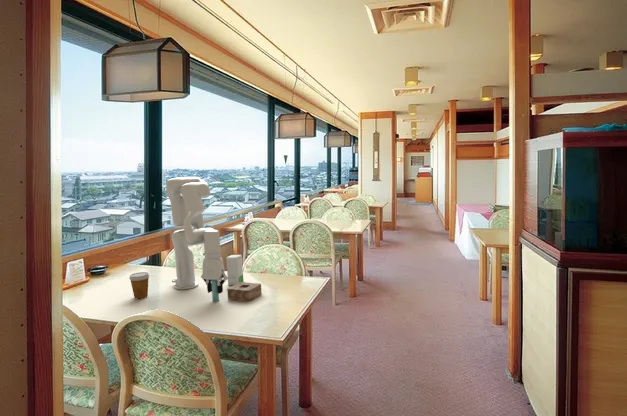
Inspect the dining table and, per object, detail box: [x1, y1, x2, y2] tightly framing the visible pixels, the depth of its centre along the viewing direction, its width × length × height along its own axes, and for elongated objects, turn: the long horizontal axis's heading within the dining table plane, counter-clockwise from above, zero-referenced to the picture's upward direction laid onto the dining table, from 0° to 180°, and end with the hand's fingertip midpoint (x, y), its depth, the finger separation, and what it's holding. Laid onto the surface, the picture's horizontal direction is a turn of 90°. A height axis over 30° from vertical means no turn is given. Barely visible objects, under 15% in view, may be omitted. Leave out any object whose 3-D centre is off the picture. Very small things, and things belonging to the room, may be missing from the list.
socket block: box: [227, 281, 263, 303], centre depth 207 cm, size 12×12×6 cm
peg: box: [211, 280, 220, 303], centre depth 202 cm, size 3×3×12 cm
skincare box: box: [225, 254, 244, 286], centre depth 232 cm, size 8×7×16 cm
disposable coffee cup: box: [128, 271, 150, 300], centre depth 213 cm, size 10×10×12 cm
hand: (215, 292), depth 203 cm, fingers open, 5 cm apart
